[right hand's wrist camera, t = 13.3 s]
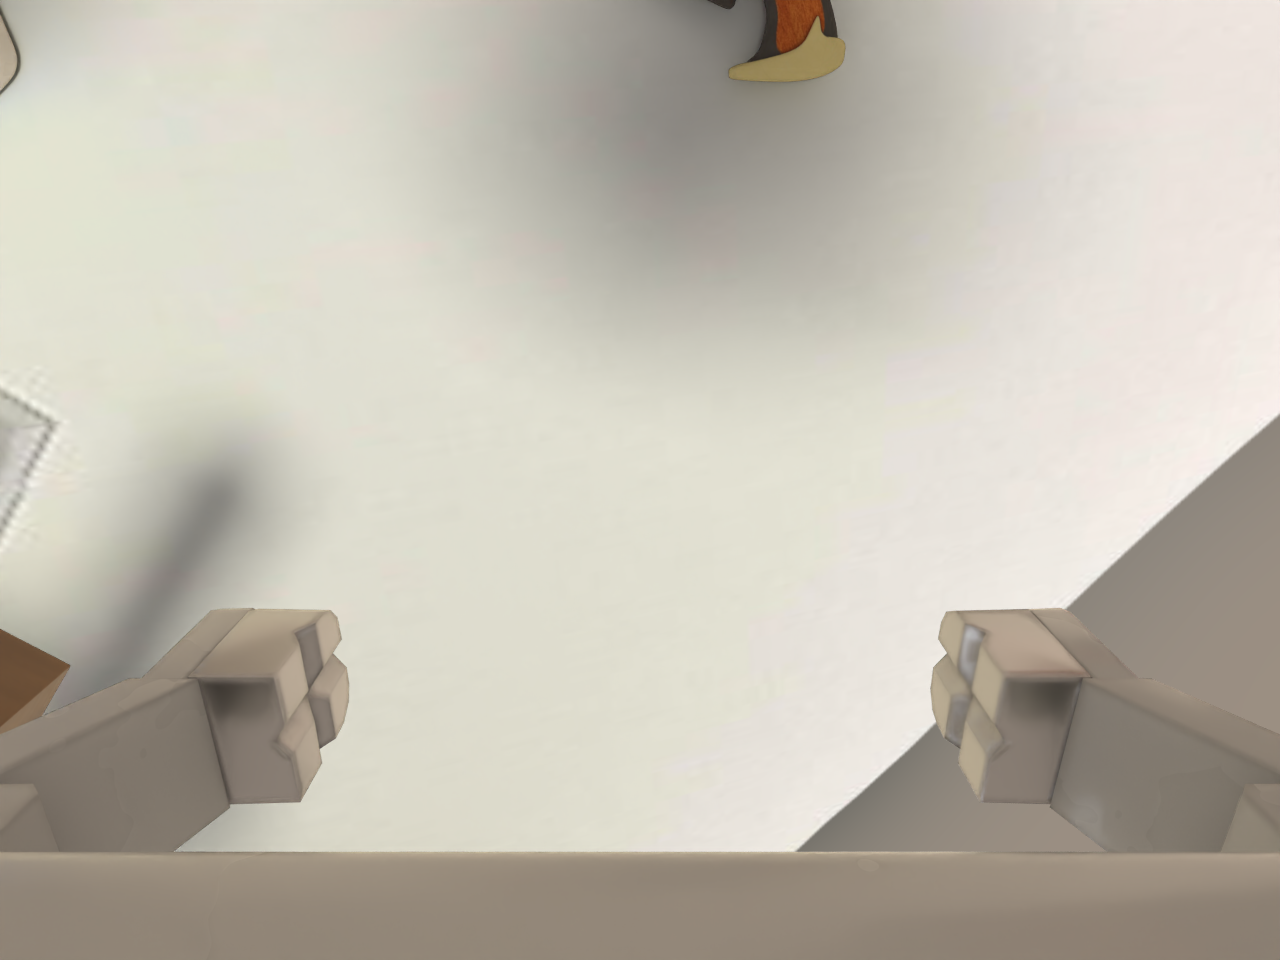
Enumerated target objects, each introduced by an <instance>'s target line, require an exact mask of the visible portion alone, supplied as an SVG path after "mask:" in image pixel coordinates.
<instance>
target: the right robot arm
mask: <svg viewBox="0 0 1280 960" xmlns="http://www.w3.org/2000/svg"><path fill="white" fill-rule="evenodd" d="M16 68H17V55H16V51H15V48H14V45H13V43H12V40H11V38H10V36H9V33H8V31H7V29H6V26H5V24H4V22H3V20H2V17H1V15H0V91H1V90H2V89H3V88H4V87H5V86H6V85H7V84H8V82H9V81H10V80H11V78H12V77H13V75H14V73H15V71H16ZM341 640H342V637H341V632H340V628H339V623H338V618H337V616H336V615H335V614H334V613H333V612H332V611H331V610H298V609H253V608H233V609H217V610H211V611H210V612H209V613H208V614H207V615H206V616H205V617H204V618H203V619H202V620H201V621H200V622H199V623H198V624H197V625H196V626H195V627H194V628H193V629H192V630H191V631H190V632H188V633H187V634H186V635H185V636H184V637H183V638H182V639H181V640H180V641H179V642H178V643H177V644H176V645H175V646H174V647H173V648H172V649H171V650H170V651H169V652H168V653H167V654H166V655H165V656H164V657H163V658H162V659H161V660H160V661H159V662H158V663H157V664H156V665H155V666H154V667H153V668H152V669H150V670H149V671H148V672H147V673H146V674H145V675H144V676H143V677H142V678H129V679H126V680H124V681H122V682H119V683H117V684H115V685H113V686H110V687H108V688H106V689H103V690H101V691H99V692H96V693H94V694H92V695H90V696H87V697H85V698H83V699H80V700H78V701H76V702H74V703H71V704H69V705H67V706H64V707H62V708H60V709H57V710H55V711H53V712H51V713H48V714H46V715H44V716H41V717H39V718H37V719H34V720H32V721H30V722H28V723H25V724H23V725H21V726H18V727H16V728H14V729H11V730H9V731H7V732H5V733H2V734H0V960H1280V734H1277V733H1275V732H1273V731H1270V730H1268V729H1266V728H1264V727H1261V726H1259V725H1257V724H1254V723H1252V722H1250V721H1248V720H1245V719H1243V718H1241V717H1238V716H1236V715H1234V714H1232V713H1229V712H1227V711H1225V710H1222V709H1220V708H1218V707H1215V706H1213V705H1211V704H1209V703H1206V702H1204V701H1202V700H1199V699H1197V698H1195V697H1192V696H1190V695H1188V694H1186V693H1183V692H1181V691H1179V690H1177V689H1174V688H1172V687H1170V686H1167V685H1165V684H1163V683H1161V682H1158V681H1156V680H1154V679H1151V678H1138V677H1137V676H1136V675H1135V674H1134V673H1133V672H1132V671H1131V670H1130V669H1129V668H1128V667H1126V666H1125V665H1124V664H1123V663H1122V662H1121V661H1120V660H1119V659H1118V658H1117V657H1116V656H1115V655H1114V654H1113V653H1112V652H1111V651H1110V650H1109V649H1108V648H1107V647H1106V646H1105V645H1104V644H1103V643H1102V642H1101V641H1100V640H1099V639H1098V638H1097V637H1096V636H1095V635H1094V634H1093V633H1092V632H1091V631H1090V630H1089V629H1088V628H1086V626H1085V625H1084V624H1082V623H1081V622H1080V621H1079V620H1078V619H1077V618H1076V617H1075V616H1074V615H1073V614H1072V613H1071V612H1070V611H1067V610H1065V609H1062V608H1044V609H1011V610H971V611H948V612H946V613H945V615H944V618H943V620H942V622H941V626H940V632H939V637H938V640H939V641H940V643H941V644H942V646H943V647H944V649H945V650H946V652H947V654H946V655H945V656H944V657H943V658H942V659H941V660H940V661H939V662H938V663H937V664H936V665H935V666H934V667H933V674H932V682H931V699H932V710H933V713H934V716H935V720H936V723H937V725H938V727H939V729H940V731H941V733H942V735H943V737H944V738H945V739H946V740H948V741H949V742H951V743H952V744H954V745H955V746H957V747H958V748H960V754H959V760H958V764H959V766H960V768H961V769H962V771H963V773H964V775H965V777H966V778H967V780H968V782H969V784H970V785H971V787H972V789H973V791H974V793H975V794H976V796H977V798H978V800H979V801H980V802H990V803H1027V804H1051V805H1050V808H1051V809H1053V810H1054V811H1055V812H1057V813H1058V814H1059V815H1061V816H1062V817H1063V818H1064V819H1066V820H1067V821H1068V822H1070V823H1071V824H1072V825H1073V826H1075V827H1076V828H1077V829H1078V830H1080V831H1081V832H1082V833H1084V834H1085V835H1086V836H1088V837H1089V838H1090V839H1091V840H1093V841H1094V842H1095V843H1097V844H1098V845H1099V846H1100V847H1102V848H1103V849H1104V850H1106V851H1107V852H173V851H175V850H176V849H177V848H179V847H180V846H181V845H182V844H184V843H185V842H186V841H188V840H189V839H190V838H191V837H193V836H194V835H195V834H197V833H198V832H199V831H200V830H202V829H203V828H204V827H206V826H207V825H208V824H210V823H211V822H212V821H213V820H215V819H216V818H217V817H219V816H220V815H221V814H222V813H224V812H225V811H226V810H228V809H229V808H230V805H229V804H253V803H288V802H301V800H302V798H303V796H304V794H305V793H306V791H307V789H308V787H309V786H310V784H311V782H312V780H313V778H314V777H315V775H316V773H317V771H318V769H319V768H320V766H321V764H322V760H321V754H320V748H322V747H323V746H325V745H326V744H328V743H329V742H331V741H332V740H334V739H335V738H336V737H337V735H338V733H339V731H340V729H341V727H342V725H343V723H344V720H345V716H346V711H347V707H348V703H349V680H348V673H347V667H346V666H345V665H344V664H343V663H342V662H341V661H340V660H339V659H338V658H337V657H336V656H335V655H334V654H333V652H334V650H335V649H336V647H337V646H338V644H339V643H340V641H341Z"/></svg>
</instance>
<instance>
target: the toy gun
mask: <svg viewBox="0 0 1280 960" xmlns="http://www.w3.org/2000/svg"><path fill="white" fill-rule="evenodd" d="M709 1H711V2H713V3H715V4H717V5H719V6H721V7H723V8H726V9H731V8H732V7H733V6H734V4H735V0H709ZM764 2H765V7H766V12H767V23H766V27H765V32H764V37H763V40H762V44H761V47H760V49H759V51H758V52H757V53H756V55H755V56H754V57H752V58H751V59H750V60H749V61H748V62H747V63H743V64H739V65H736V66H734V67H732V68H730V69H729V78H731V79H736V80H749V81H770V82H790V81H802V80H808V79H814V78H818V77H821V76H824V75H826V74H829V73H830V72H832V71H834V70H835V69H837V68H838V67H839V66H840V65H841V64H842V62H843V60H844V55H845V43H844V41H843V40H841V39H839V38H838V35H837V28H836V22H835V18H834V13H833V9H832V6H831V2H830V0H764Z"/></svg>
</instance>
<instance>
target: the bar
mask: <svg viewBox="0 0 1280 960" xmlns="http://www.w3.org/2000/svg"><path fill="white" fill-rule="evenodd" d="M69 668H70V665H69V664H67V663H65V662H63V661H61V660H59V659H57V658H55V657H54V656H52V655H50V654H48V653H46V652H44V651H42V650H40V649H38V648H36V647H34V646H32V645H30V644H28V643H26V642H24V641H23V640H21V639H19V638H17V637H15V636H13V635H11V634H9V633H7V632H5V631H3V630H1V629H0V734H2V733H5V732H7V731H9V730H11V729H14V728H16V727H18V726H21V725H23V724H25V723H28V722H30V721H32V720H34V719H37V718H39V717H41V716H42V715H43V713H44V711H45V709H46V708H47V706H48V704H49V703H50V701H51V699H52V697H53V696H54V694H55V692H56V690H57V689H58V687H59V685H60V683H61V682H62V680H63V678H64V676H65V675H66V673H67V671H68V670H69Z"/></svg>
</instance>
